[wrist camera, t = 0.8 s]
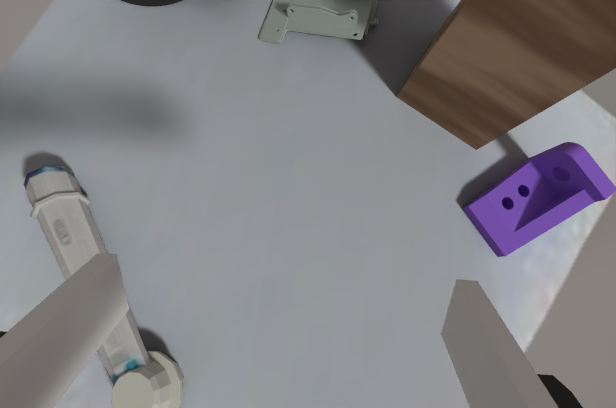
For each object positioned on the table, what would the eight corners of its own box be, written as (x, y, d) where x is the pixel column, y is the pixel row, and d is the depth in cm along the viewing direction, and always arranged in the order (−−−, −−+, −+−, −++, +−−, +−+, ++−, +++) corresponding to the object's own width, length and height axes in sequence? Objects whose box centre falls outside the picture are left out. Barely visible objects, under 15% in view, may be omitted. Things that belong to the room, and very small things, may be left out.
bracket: (527, 159, 43) (576, 137, 36) (561, 203, 42) (617, 189, 36) (460, 208, 40) (500, 195, 33) (495, 256, 39) (543, 252, 33)
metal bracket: (394, -60, 40) (365, 42, 36) (390, -16, 45) (363, 77, 42) (282, -68, 43) (244, 26, 39) (290, -25, 48) (258, 60, 45)
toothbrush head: (62, 156, 31) (177, 419, 25) (100, 183, 37) (198, 399, 31) (3, 181, 30) (107, 465, 24) (51, 205, 36) (144, 434, 30)
